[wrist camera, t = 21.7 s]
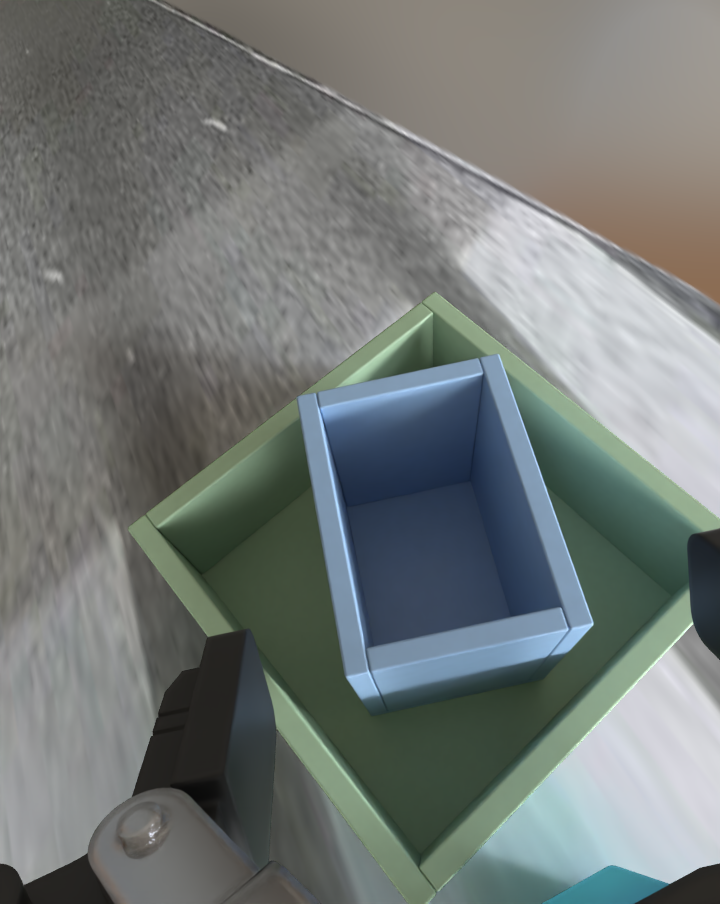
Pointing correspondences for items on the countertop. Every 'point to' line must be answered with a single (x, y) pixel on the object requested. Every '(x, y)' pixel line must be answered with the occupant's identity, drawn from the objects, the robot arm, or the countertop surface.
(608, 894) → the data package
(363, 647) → the small bin
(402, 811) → the green tote
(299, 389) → the countertop surface
